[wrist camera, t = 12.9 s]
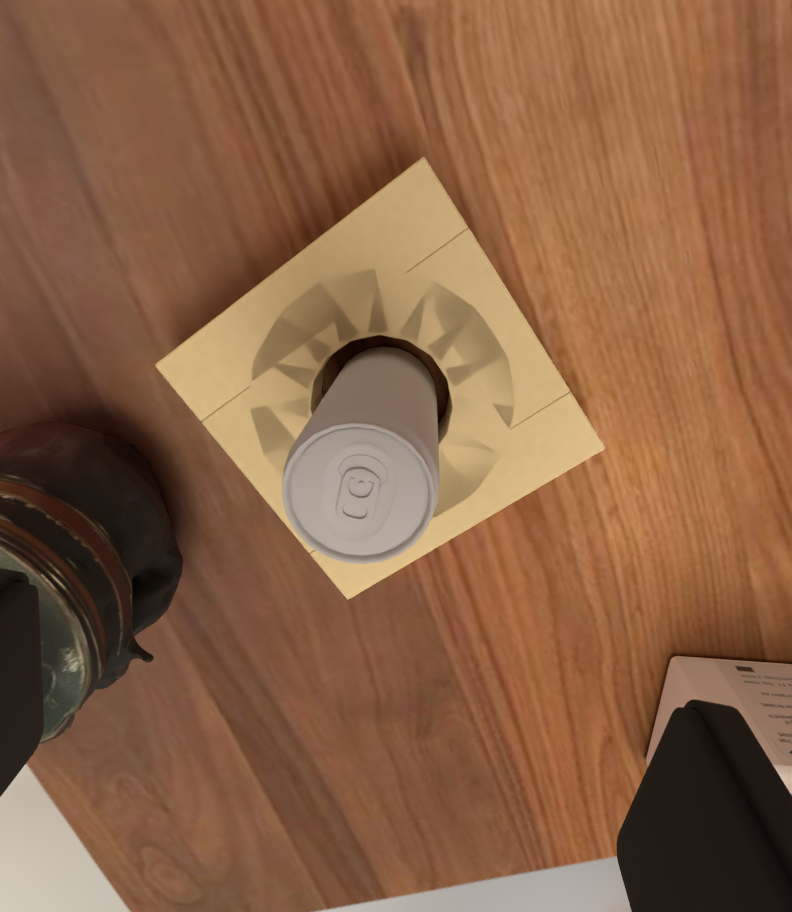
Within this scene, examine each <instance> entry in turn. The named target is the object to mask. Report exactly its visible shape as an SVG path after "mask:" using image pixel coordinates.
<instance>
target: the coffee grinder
mask: <svg viewBox="0 0 792 912" xmlns="http://www.w3.org/2000/svg"><path fill="white" fill-rule="evenodd" d="M182 565H183V558H182V556H181V554H180V551H179V548H178V545H177V542H176V539H175V536H174V532H173V527H172V524H171V522H170V519H169V516H168V513H167V511H166V508H165V506H164V504H163V501H162V498H161V494H160V490H159V487H158V485H157V484H156V482H155V480H154V475H153V474H152V473H151V472H150V467H149V462H147V461H143V459H142V457H141V456H140V454H139V453H138V451H137V450H136V448H135V447H134V446H133V445H130V444H126V443H123V442H121V441H120V440H119V439H116V438H114V437H111V436H107V435H104V434H102V433H100V432H98V431H95V430H92V429H88V428H83V427H80V426H76V425H74V424H67V423H38V424H33V425H29V426H25V427H22V428H15V429H11V430H6V431H3V432H1V433H0V568H3V569H9V570H14V571H19V572H23V573H25V574H26V575H27V577H28V578H29V583H30V584H32V585H34V586H36V588H37V589H38V594H39V616H40V639H41V663H42V686H43V710H44V730H43V734H42V737H41V740H40V743H39V744H41V743H44V742H47V741H49V740H52V739H54V738H56V737H58V736H60V735H61V734H62V733H63V732H65V731H66V730H67V729H68V728H70V727H71V725H72V723H73V720H74V716H75V712H76V711H78V710H79V709H81V707H82V705H83V704H84V702H85V701H86V700H87V698H88V697H89V696H90V695H91V694H92V693H93V692H94V690H95V689H104V688H107V687H109V686H110V685H112V684H113V683H114V682H115V681H116V680H118V679H119V678H120V677H122V676H123V675H124V674H125V673H126V671H127V669H128V666H129V664H130V662H131V660H132V659H136V658H140V659H142V660H143V661H145V662H151V661H152V660H153V658H154V657H153V656H152V655H151V654H149V653H148V652H146V651H145V650H143V649H142V648H141V647H140V646H139V645H138V643H137V642H136V640H135V638H134V636H135V635H136V634H138V633H139V632H141V631H142V630H144V629H145V628H147V627H149V626H150V625H152V624H153V623H155V622H156V621H157V620H158V619H159V618H160V617H161V616H162V615H163V614H164V613H165V612H166V610H167V609H168V607H169V606H170V603H171V601H172V598H173V595H174V593H175V591H176V589H177V586H178V582H179V579H180V577H181V574H182Z"/></svg>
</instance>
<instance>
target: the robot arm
mask: <svg viewBox="0 0 792 912" xmlns="http://www.w3.org/2000/svg"><path fill="white" fill-rule="evenodd" d="M43 730H44V710H43V686H42V663H41V639H40V616H39V594H38V589H37V588H36V586H34V585H32V584H30V583H29V578H28V577H27V575H26V574H25V573H23V572H19V571H14V570H9V569H3V568H0V796H1V795H2V794H3V793H4V791H5V790H6V789H7V787H8V786H9V785H10V783H11V782H12V781H13V779H14V778H15V777H16V776H17V774H18V773H19V772H20V770H21V769H22V768H23V766H24V765H25V764H26V762H27V761H28V760H29V759H30V757H31V756H32V755H33V753H34V752H35V750H36V749H37V747H38V745H39V743H40V740H41V737H42V734H43ZM617 858H618V863H619V867H620V871H621V874H622V878H623V882H624V885H625V888H626V892H627V896H628V899H629V903H630V907H631V910H632V912H792V795H791V794H790V792H789V790H788V789H787V787H786V786H785V784H784V782H783V781H782V779H781V777H780V776H779V774H778V773H777V771H776V769H775V768H774V766H773V764H772V763H771V761H770V760H769V758H768V756H767V755H766V753H765V751H764V750H763V748H762V747H761V745H760V743H759V742H758V740H757V738H756V737H755V735H754V734H753V732H752V730H751V729H750V727H749V725H748V724H747V722H746V721H745V719H744V717H743V716H742V714H741V713H740V712H739V711H738V709H736V708H734V707H732V706H728V705H723V704H717V703H712V702H707V701H702V700H696V699H694V700H690V701H688V702H687V703H686V705H685V706H684V708H682V707H677V708H676V709H675V710H674V711H673V713H672V714H671V716H670V719H669V721H668V723H667V725H666V728H665V730H664V732H663V735H662V737H661V739H660V741H659V744H658V746H657V748H656V750H655V753H654V755H653V757H652V759H651V762H650V764H649V766H648V768H647V771H646V773H645V775H644V777H643V780H642V782H641V784H640V787H639V789H638V791H637V793H636V796H635V798H634V800H633V802H632V805H631V807H630V809H629V811H628V814H627V816H626V818H625V820H624V823H623V825H622V827H621V829H620V832H619V835H618V839H617Z"/></svg>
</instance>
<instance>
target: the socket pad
mask: <svg viewBox="0 0 792 912" xmlns="http://www.w3.org/2000/svg"><path fill="white" fill-rule="evenodd" d="M467 227H468V226H467V224H466V222H465V221H464V219H463V217H462V216H461V214H460V213H459V211H458V209H457V208H456V206H455V205H454V203H453V201H452V200H451V198H450V197H449V195H448V193H447V192H446V190H445V188H444V187H443V185H442V184H441V182H440V180H439V179H438V177H437V176H436V174H435V172H434V171H433V169H432V168H431V166H430V164H429V163H428V161H427V160H426V158H425V157H422V158H421V159H419V160H418V161H417V162H416V163H414V164H413V165H412V166H410V167H409V168H408V169H407V170H405V171H404V172H403V173H401V174H400V175H399V176H398V177H396V178H395V179H394V180H392V181H391V182H390V183H388V184H387V185H386V186H385V187H383V188H382V189H381V190H379V191H378V192H377V193H376V194H374V195H373V196H372V197H370V198H369V199H368V200H367V201H365V202H364V203H363V204H361V205H360V206H359V207H358V208H356V209H355V210H354V211H352V212H351V213H350V214H348V215H347V216H346V217H345V218H343V219H342V220H341V221H339V222H338V223H337V224H336V225H334V226H333V227H332V228H330V229H329V230H328V231H327V232H325V233H324V234H323V235H321V236H320V237H319V238H317V239H316V240H315V241H314V242H312V243H311V244H310V245H308V246H307V247H306V248H305V249H303V250H302V251H301V252H299V253H298V254H297V255H296V256H294V257H293V258H292V259H290V260H289V261H288V262H286V263H285V264H284V265H283V266H281V267H280V268H279V269H277V270H276V271H275V272H274V273H272V274H271V275H270V276H268V277H267V278H266V279H265V280H263V281H262V282H261V283H259V284H258V285H257V286H255V287H254V288H253V289H252V290H250V291H249V292H248V293H246V294H245V295H244V296H243V297H241V298H240V299H239V300H237V301H236V302H235V303H234V304H232V305H231V306H230V307H228V308H227V309H226V310H225V311H223V312H222V313H221V314H219V315H218V316H217V317H215V318H214V319H213V320H212V321H210V322H209V323H208V324H206V325H205V326H204V327H203V328H201V329H200V330H199V331H197V332H196V333H195V334H194V335H192V336H191V337H190V338H188V339H187V340H186V341H184V342H183V343H182V344H181V345H179V346H178V347H177V348H175V349H174V350H173V351H172V352H170V353H169V354H168V355H166V356H165V357H164V358H163V359H161V360H160V361H159V362H157V363H156V364H155V366H156V368H157V369H158V370H159V371H160V373H161V374H162V375H163V376H164V377H165V379H166V380H167V381H168V382H169V383H170V385H171V386H172V387H173V388H174V390H175V391H176V392H177V393H178V394H179V396H180V397H181V398H182V399H183V400H184V402H185V403H186V404H187V405H188V407H189V408H190V409H191V410H192V411H193V413H194V414H195V415H196V416H197V417H198V419H199V420H200V421H202V424H203V425H204V426H205V427H206V429H207V430H208V431H209V432H210V434H211V435H212V436H213V437H214V438H215V440H216V441H217V442H218V443H219V444H220V446H221V447H222V448H223V449H224V451H225V452H226V453H227V454H228V455H229V457H230V458H231V459H232V460H233V461H234V463H235V464H236V465H237V466H238V468H239V469H240V470H241V471H242V472H243V474H244V475H245V476H246V477H247V478H248V480H249V481H250V482H251V483H252V484H253V486H254V487H255V488H256V489H257V491H258V492H259V493H260V494H261V495H262V497H263V498H264V499H265V500H266V501H267V503H268V504H269V505H270V506H271V508H272V509H273V510H274V511H275V512H276V514H277V515H278V516H279V517H280V518H281V520H282V521H283V522H284V523H285V525H286V526H287V527H288V528H289V529H290V531H291V532H292V533H293V534H294V535H295V537H296V538H297V539H298V540H299V542H300V543H301V544H302V545H303V546H304V548H305V549H306V550H307V551H308V552H309V553H310V555H311V556H312V557H313V558H314V560H315V561H316V562H317V563H318V564H319V566H320V567H321V568H322V569H323V570H324V572H325V573H326V574H327V575H328V577H329V578H330V579H331V580H332V581H333V583H334V584H335V585H336V586H337V587H338V589H339V590H340V591H341V592H342V594H343V595H344V596H345V597H346V598H347V599H350V598H352V597H353V596H355V595H357V594H358V593H360V592H362V591H363V590H365V589H367V588H369V587H370V586H372V585H374V584H375V583H377V582H379V581H381V580H382V579H384V578H386V577H387V576H389V575H391V574H392V573H394V572H396V571H398V570H399V569H401V568H403V567H404V566H406V565H408V564H409V563H411V562H413V561H415V560H416V559H418V558H420V557H421V556H423V555H425V554H427V553H428V552H430V551H432V550H433V549H435V548H437V547H438V546H440V545H442V544H444V543H445V542H447V541H449V540H450V539H452V538H454V537H455V536H457V535H459V534H461V533H462V532H464V531H466V530H467V529H469V528H471V527H473V526H474V525H476V524H478V523H479V522H481V521H483V520H484V519H486V518H488V517H490V516H491V515H493V514H495V513H496V512H498V511H500V510H501V509H503V508H505V507H507V506H508V505H510V504H512V503H513V502H515V501H517V500H519V499H520V498H522V497H524V496H525V495H527V494H529V493H530V492H532V491H534V490H536V489H537V488H539V487H541V486H542V485H544V484H546V483H548V482H549V481H551V480H553V479H554V478H556V477H558V476H559V475H561V474H563V473H565V472H566V471H568V470H570V469H571V468H573V467H575V466H576V465H578V464H580V463H582V462H583V461H585V460H587V459H588V458H590V457H592V456H594V455H595V454H597V453H599V452H600V451H602V450H604V449H605V445H604V444H603V442H602V441H601V439H600V437H599V436H598V434H597V433H596V431H595V429H594V428H593V426H592V424H591V423H590V421H589V420H588V418H587V416H586V415H585V413H584V412H583V410H582V408H581V407H580V405H579V404H578V402H577V400H576V399H575V397H574V396H573V394H572V392H571V391H570V389H569V388H568V386H567V384H566V383H565V381H564V379H563V378H562V376H561V375H560V373H559V371H558V370H557V368H556V367H555V365H554V363H553V362H552V360H551V359H550V357H549V355H548V354H547V352H546V351H545V349H544V347H543V346H542V344H541V343H540V341H539V339H538V338H537V336H536V335H535V333H534V331H533V330H532V328H531V326H530V325H529V323H528V322H527V320H526V318H525V317H524V315H523V314H522V312H521V310H520V309H519V307H518V306H517V304H516V302H515V301H514V299H513V298H512V296H511V294H510V293H509V291H508V290H507V288H506V286H505V285H504V283H503V282H502V280H501V278H500V277H499V275H498V274H497V272H496V270H495V269H494V267H493V265H492V264H491V262H490V261H489V259H488V257H487V256H486V254H485V253H484V251H483V249H482V248H481V246H480V245H479V243H478V241H477V240H476V238H475V237H474V235H473V233H472V232H471V230H470V229H469V228H467ZM377 335H381V336H386V337H391V338H397V339H402V340H407V341H409V342H410V343H412V344H413V345H415V346H416V347H418V348H419V349H421V350H423V351H424V352H426V353H427V354H429V355H430V356H431V357H432V358H433V360H434V361H435V363H436V364H437V365H438V367H439V368H440V370H441V371H442V373H443V374H444V376H445V377H446V379H447V382H448V387H449V392H450V394H449V398H448V403H447V408H446V413H445V415H444V416H443V418H442V419H441V421H440V422H439V424H438V445H439V472H440V487H439V495H438V503H437V506H436V508H435V511H434V513H433V515H432V518H431V520H430V522H429V525H428V527H427V529H426V531H425V532H424V533H423V535H422V536H421V537H420V538H419V540H418V541H417V542H416V543H415V544H414V545H413V546H412V547H410V548H409V549H407V550H406V551H405V552H403V553H402V554H400V555H399V556H396V557H393V558H391V559H388V560H386V561H383V562H378V563H370V564H354V563H344V562H341V561H338V560H335V559H332V558H329V557H326V556H324V555H323V554H321V553H320V552H318V551H316V550H315V549H313V548H312V547H310V546H309V545H308V544H307V543H306V542H305V541H304V540H303V539H302V538H301V537H300V536H299V535H298V534H297V533H296V532H295V530H294V528H293V526H292V525H291V523H290V521H289V519H288V517H287V516H286V512H285V508H284V504H283V500H282V479H283V475H284V467H285V464H286V461H287V457H288V454H289V451H290V449H291V447H292V446H293V444H294V443H295V441H296V440H297V438H298V437H299V435H300V433H301V432H302V430H303V429H304V427H305V426H306V424H307V423H308V421H309V420H310V418H311V416H312V415H313V413H314V412H315V410H316V409H317V407H318V406H319V404H320V402H321V401H322V399H323V394H322V386H323V378H324V371H325V366H326V364H327V363H328V361H329V359H330V358H331V356H332V354H334V353H335V352H336V351H338V350H339V349H341V348H342V347H343V346H345V345H346V344H348V343H349V342H350V341H354V340H359V339H363V338H368V337H372V336H377Z"/></svg>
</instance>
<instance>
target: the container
mask: <svg viewBox="0 0 792 912" xmlns="http://www.w3.org/2000/svg"><path fill="white" fill-rule="evenodd" d="M694 699H696V700H702V701H707V702H712V703H717V704H723V705H728V706H732V707H734V708H736V709H738V711H739V712H740V713H741V714H742V716H743V717H744V719H745V721H746V722H747V724H748V725H749V727H750V729H751V730H752V732H753V734H754V735H755V737H756V738H757V740H758V742H759V743H760V745H761V747H762V748H763V750H764V751H765V753H766V755H767V756H768V758H769V760H770V761H771V763H772V764H773V766H774V768H775V769H776V771H777V773H778V774H779V776H780V777H781V779H782V781H783V782H784V784H785V786H786V787H787V789H788V790H789V792H790V794H791V795H792V664H783V663H769V662H755V661H741V660H727V659H713V658H699V657H685V656H674V657H673V658H671V660H670V663H669V667H668V671H667V675H666V680H665V684H664V688H663V692H662V696H661V700H660V704H659V708H658V712H657V716H656V720H655V725H654V729H653V733H652V737H651V741H650V745H649V749H648V753H647V757H646V763H647V766H649V764H650V762H651V759H652V757H653V755H654V753H655V750H656V748H657V746H658V744H659V741H660V739H661V737H662V735H663V732H664V730H665V728H666V725H667V723H668V721H669V719H670V716H671V714H672V713H673V711H674V710H675V709H676V708H677V707H682V708H684V706H685V705H686V703H687V702H688V701H690V700H694Z"/></svg>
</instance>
